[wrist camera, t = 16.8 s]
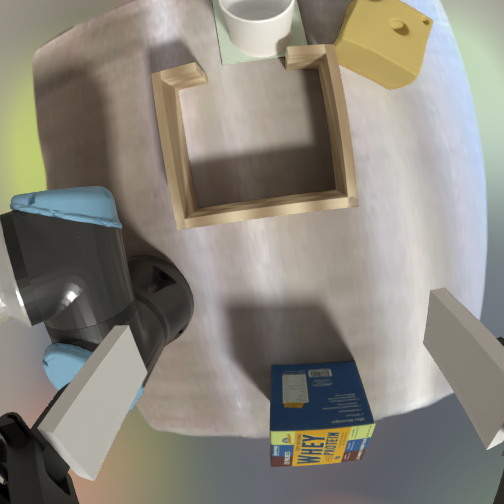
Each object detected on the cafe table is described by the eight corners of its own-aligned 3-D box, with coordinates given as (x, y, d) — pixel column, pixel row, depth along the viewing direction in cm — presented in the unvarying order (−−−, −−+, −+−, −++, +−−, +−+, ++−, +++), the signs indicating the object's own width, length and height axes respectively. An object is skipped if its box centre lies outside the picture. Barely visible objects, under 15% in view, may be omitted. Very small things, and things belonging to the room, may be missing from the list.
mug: (225, -5, 32) (211, -47, 20) (284, -10, 31) (287, -54, 20) (232, 61, 35) (217, 29, 24) (294, 56, 35) (303, 22, 23)
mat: (223, 65, 36) (222, 64, 36) (212, -1, 32) (211, -2, 32) (309, 54, 35) (309, 53, 34) (293, -11, 31) (293, -13, 31)
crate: (191, 217, 43) (177, 230, 37) (169, 84, 37) (151, 73, 31) (345, 197, 41) (358, 206, 34) (324, 60, 35) (333, 44, 28)
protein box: (348, 399, 53) (363, 460, 38) (270, 403, 54) (269, 467, 39) (356, 359, 50) (377, 423, 35) (270, 363, 51) (268, 431, 36)
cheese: (345, 9, 32) (362, -22, 22) (409, 42, 32) (439, 21, 23) (323, 61, 35) (338, 37, 26) (391, 95, 36) (422, 82, 26)
